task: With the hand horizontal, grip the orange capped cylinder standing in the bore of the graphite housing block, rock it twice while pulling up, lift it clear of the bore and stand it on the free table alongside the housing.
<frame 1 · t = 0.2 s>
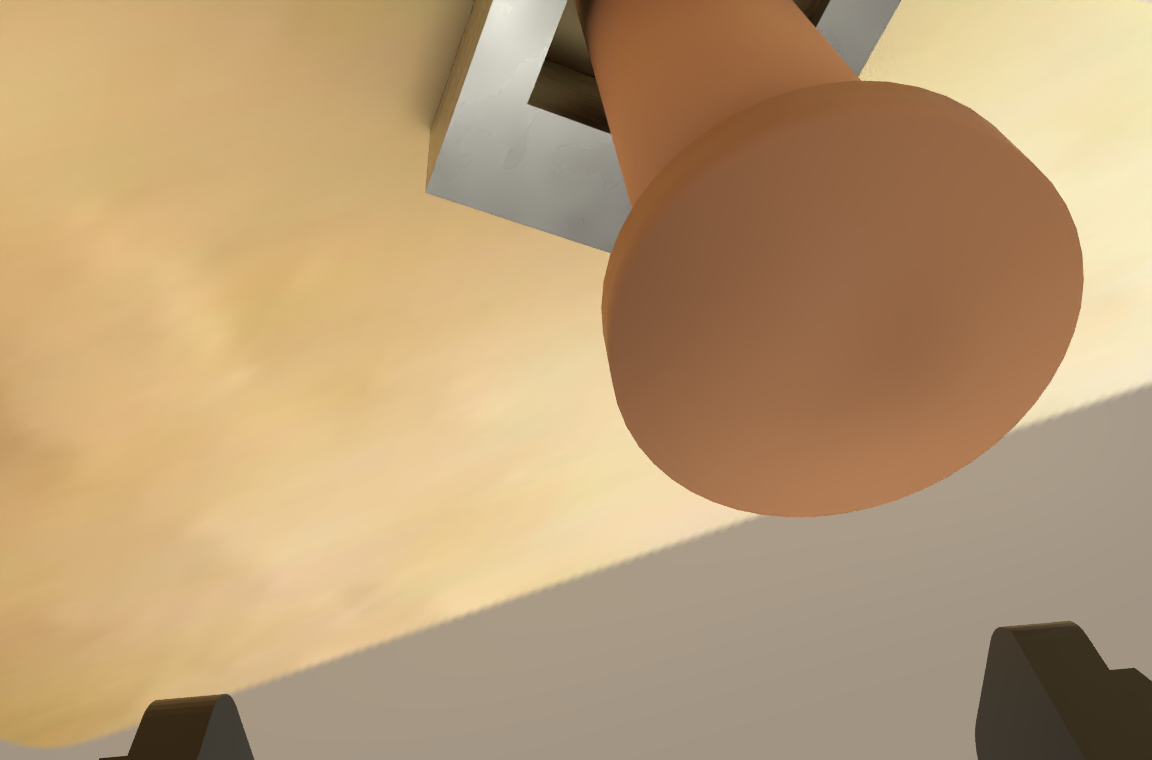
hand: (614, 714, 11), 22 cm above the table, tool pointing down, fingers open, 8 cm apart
orange capped cylinder: (722, 106, 21), in the housing
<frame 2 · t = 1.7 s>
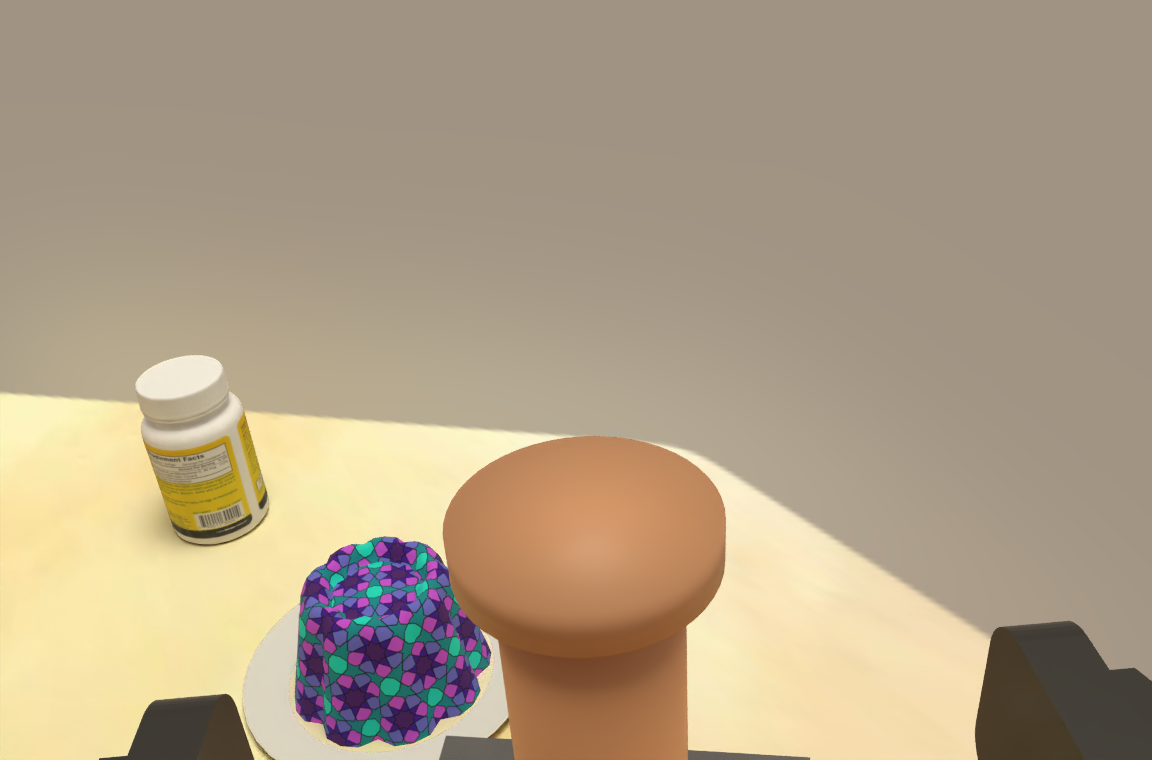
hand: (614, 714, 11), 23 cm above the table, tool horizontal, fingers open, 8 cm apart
supplement bottle: (223, 520, 53), on the table
pudding: (394, 677, 44), on the table
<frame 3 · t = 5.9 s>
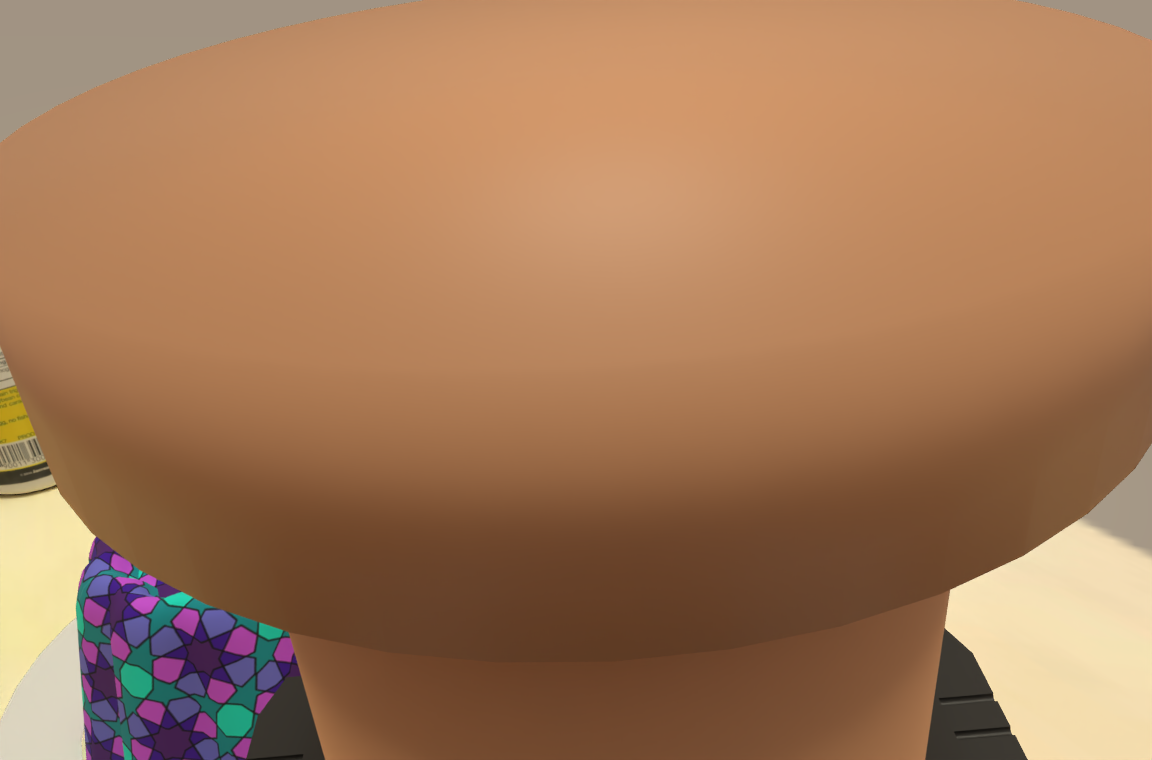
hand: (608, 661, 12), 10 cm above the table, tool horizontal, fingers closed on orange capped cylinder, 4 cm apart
supplement bottle: (44, 461, 35), on the table
pudding: (268, 700, 26), on the table
when the fingers open (11 cm above the table, at t = 12.0 s): orange capped cylinder stays where it is, on the table.
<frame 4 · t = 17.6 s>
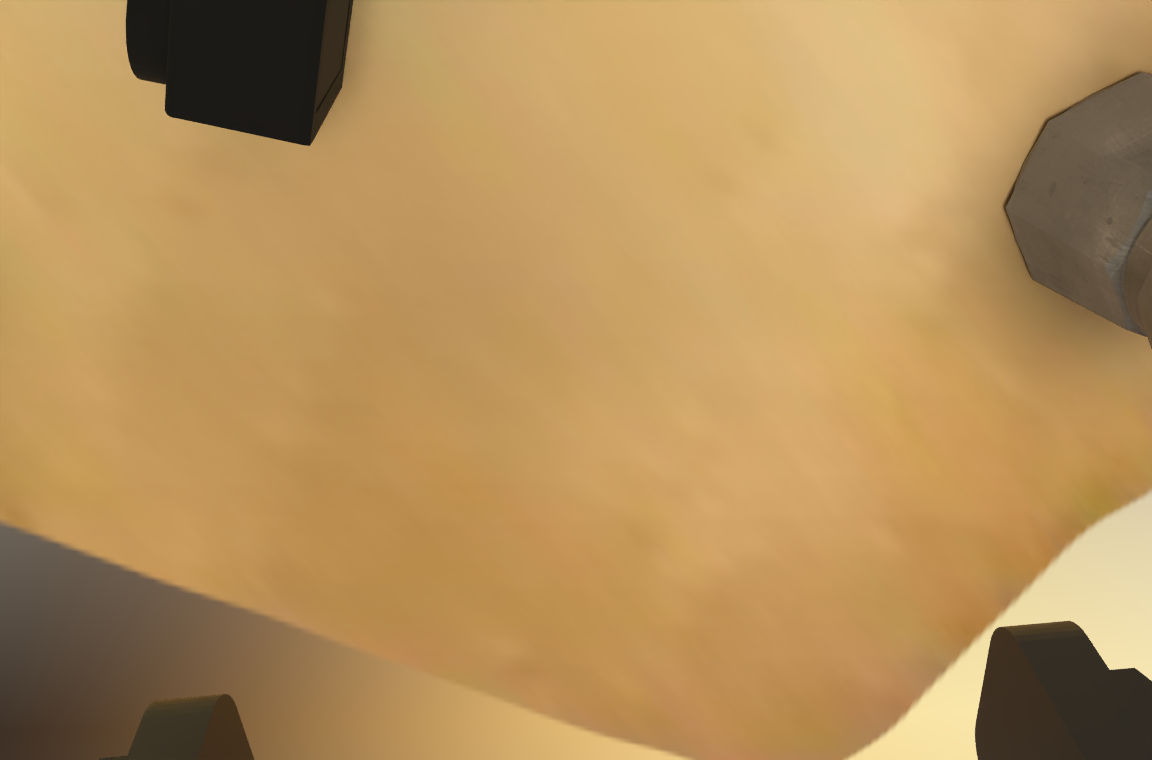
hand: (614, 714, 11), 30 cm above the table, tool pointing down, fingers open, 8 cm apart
coffeepot: (1121, 160, 40), on the table
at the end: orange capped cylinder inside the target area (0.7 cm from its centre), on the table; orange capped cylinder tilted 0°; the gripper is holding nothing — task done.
